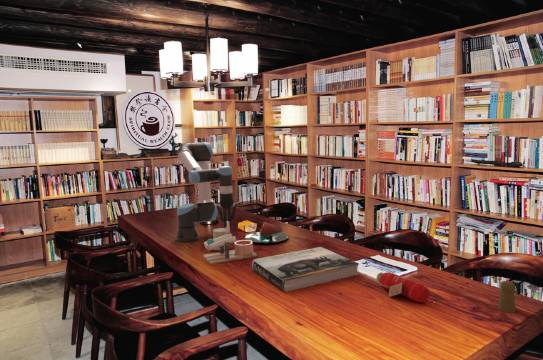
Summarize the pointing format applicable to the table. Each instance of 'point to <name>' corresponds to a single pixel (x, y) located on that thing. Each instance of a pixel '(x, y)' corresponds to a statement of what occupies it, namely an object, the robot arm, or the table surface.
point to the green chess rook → (507, 297)
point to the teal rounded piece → (267, 234)
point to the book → (304, 268)
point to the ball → (210, 241)
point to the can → (219, 234)
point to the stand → (225, 255)
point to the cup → (243, 247)
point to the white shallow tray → (220, 242)
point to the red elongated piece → (403, 287)
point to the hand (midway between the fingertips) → (227, 232)
